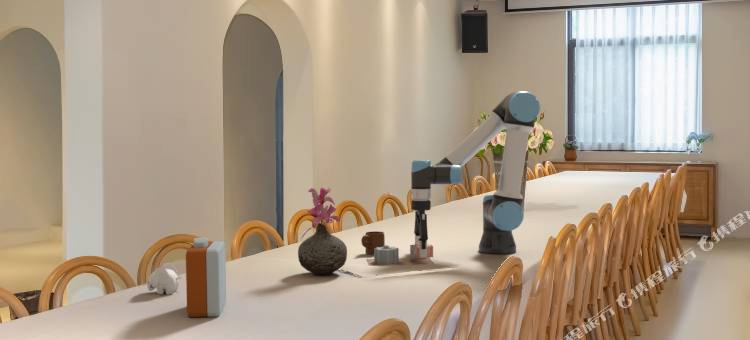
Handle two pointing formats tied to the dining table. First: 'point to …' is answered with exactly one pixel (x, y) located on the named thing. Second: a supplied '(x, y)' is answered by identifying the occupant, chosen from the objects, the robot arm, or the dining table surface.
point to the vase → (322, 240)
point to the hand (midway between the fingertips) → (420, 255)
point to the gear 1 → (386, 255)
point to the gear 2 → (429, 250)
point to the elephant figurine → (164, 279)
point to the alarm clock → (205, 278)
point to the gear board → (404, 259)
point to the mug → (373, 241)
